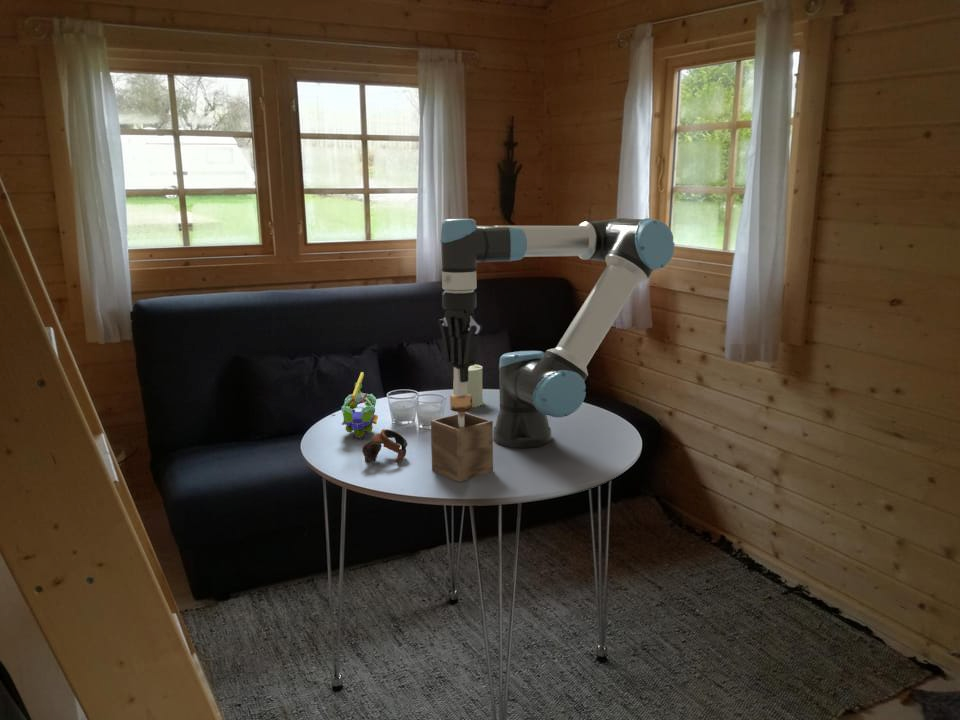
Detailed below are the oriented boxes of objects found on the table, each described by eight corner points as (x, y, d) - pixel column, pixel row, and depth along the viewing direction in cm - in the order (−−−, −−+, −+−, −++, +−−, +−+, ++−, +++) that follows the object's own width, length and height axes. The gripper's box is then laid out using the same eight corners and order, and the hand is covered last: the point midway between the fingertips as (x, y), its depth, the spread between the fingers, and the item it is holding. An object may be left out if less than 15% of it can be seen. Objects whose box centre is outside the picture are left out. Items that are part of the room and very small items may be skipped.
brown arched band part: (376, 452, 182) (392, 425, 180) (402, 475, 178) (418, 448, 176) (346, 454, 171) (362, 426, 170) (372, 479, 167) (389, 450, 166)
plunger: (464, 456, 173) (463, 389, 169) (486, 465, 167) (486, 396, 163) (437, 464, 168) (436, 395, 164) (459, 474, 162) (458, 402, 158)
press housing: (465, 459, 174) (464, 411, 172) (493, 471, 167) (492, 421, 164) (432, 470, 168) (430, 420, 165) (459, 482, 161) (458, 430, 158)
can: (483, 407, 218) (483, 368, 215) (453, 408, 217) (452, 369, 215) (482, 399, 227) (482, 362, 224) (453, 400, 226) (452, 362, 224)
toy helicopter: (374, 450, 182) (371, 394, 179) (337, 451, 181) (334, 395, 178) (380, 420, 206) (378, 370, 203) (348, 421, 206) (345, 371, 202)
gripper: (427, 289, 161) (430, 392, 166) (465, 294, 151) (466, 404, 156) (453, 286, 166) (455, 386, 171) (492, 291, 156) (492, 397, 161)
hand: (460, 394), depth 164 cm, fingers closed
